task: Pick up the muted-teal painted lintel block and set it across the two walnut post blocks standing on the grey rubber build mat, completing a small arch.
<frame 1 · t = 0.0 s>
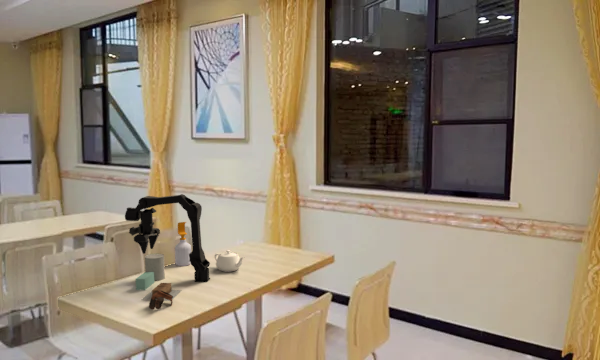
hand: (147, 251, 247), 15 cm above the table, fingers open, 9 cm apart
post b: (159, 297, 221), resting on build mat
soap bottle: (183, 264, 275), on the table
brown curved piece: (160, 308, 210), on the table
build mat: (162, 295, 224), on the table
post a: (164, 292, 227), resting on build mat
teapot: (229, 270, 264), on the table
lintel: (145, 287, 236), on the table
beer can: (155, 279, 248), on the table
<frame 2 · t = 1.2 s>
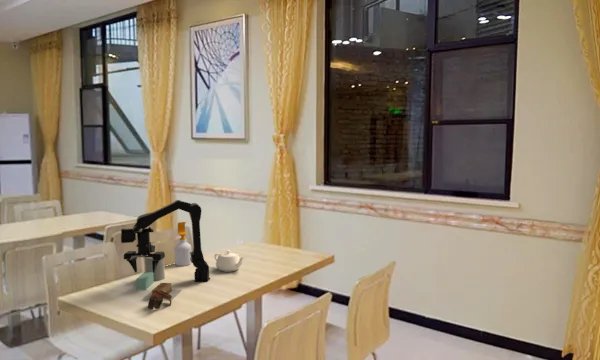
hand: (145, 272, 236), 7 cm above the table, fingers open, 9 cm apart
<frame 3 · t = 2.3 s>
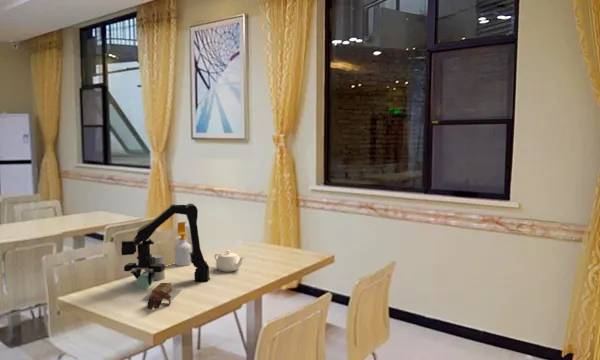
hand: (145, 284, 236), 1 cm above the table, fingers closed on lintel, 5 cm apart
lintel: (145, 287, 236), on the table, touching gripper
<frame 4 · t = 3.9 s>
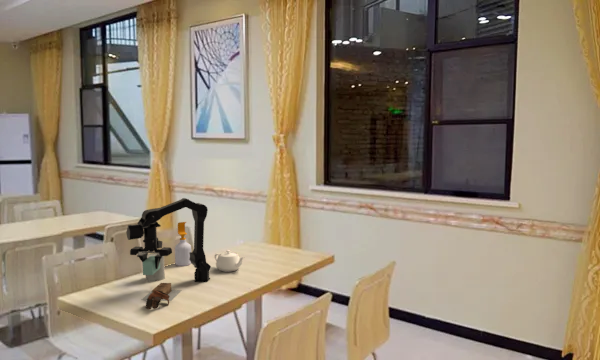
hand: (151, 268, 230), 11 cm above the table, fingers closed on lintel, 5 cm apart
lintel: (151, 271, 230), point 10 cm above the table, touching gripper
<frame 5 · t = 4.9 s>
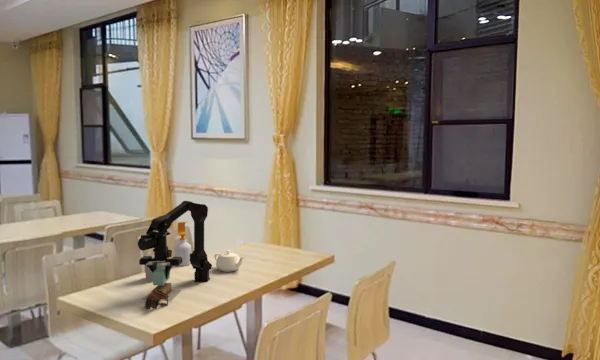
hand: (161, 278, 223), 8 cm above the table, fingers closed on lintel, 5 cm apart
lintel: (161, 281, 223), point 7 cm above the table, touching gripper
when the fingers open (7 cm above the table, at t = 5.5 s): lintel drops 1 cm, resting on post a, post b.
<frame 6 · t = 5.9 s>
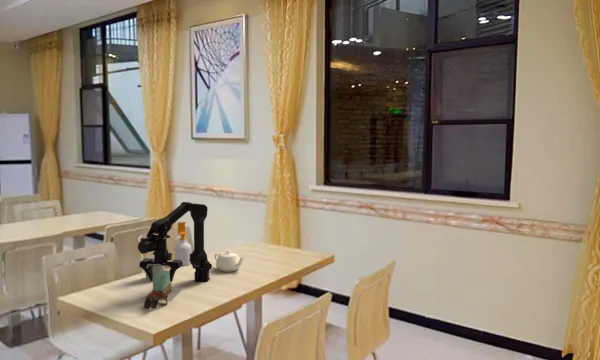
hand: (161, 281, 223), 7 cm above the table, fingers open, 9 cm apart
post b: (159, 297, 221), resting on build mat, touching lintel
post a: (164, 292, 227), resting on build mat, touching lintel
lintel: (161, 286, 224), point 4 cm above the table, touching post a, post b
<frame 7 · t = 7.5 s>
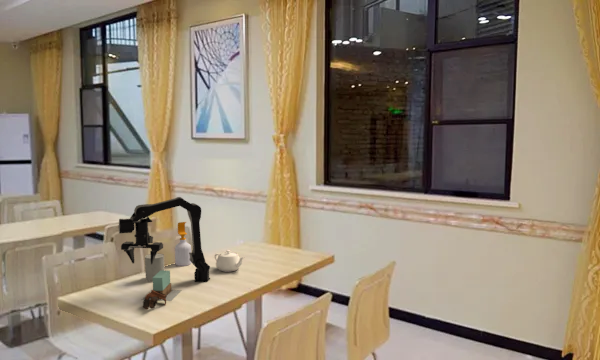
hand: (142, 263, 231), 13 cm above the table, fingers open, 9 cm apart
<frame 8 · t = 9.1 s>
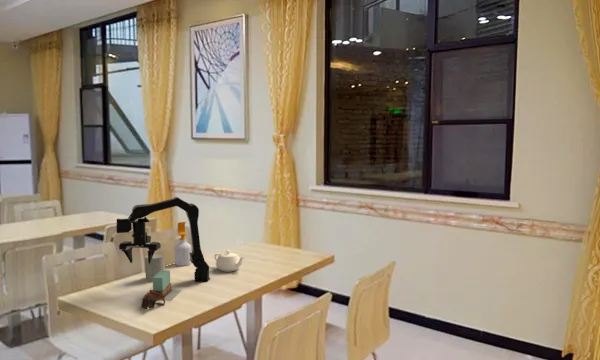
hand: (140, 263, 233), 12 cm above the table, fingers open, 9 cm apart
at the end: lintel inside the target area (0.0 cm from its centre), point 4.4 cm above the table; lintel tilted 0°; the gripper is holding nothing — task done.
